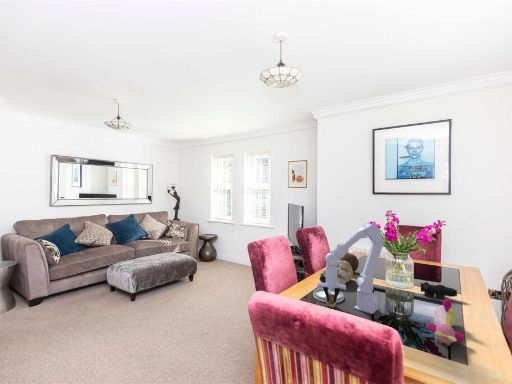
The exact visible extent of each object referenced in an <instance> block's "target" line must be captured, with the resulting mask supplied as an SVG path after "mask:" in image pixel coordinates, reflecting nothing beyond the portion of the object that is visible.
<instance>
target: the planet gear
mask: <svg viewBox="0 0 512 384" xmlns="http://www.w3.org/2000/svg"><path fill="white" fill-rule="evenodd" d="M328 299H329V302H327V303H326V307H328V306H329V307H330V308H331V307H332V309H334V308H335V307H336V308H337V303H334V294H328ZM329 307H328V308H329ZM333 307H334V308H333Z"/></svg>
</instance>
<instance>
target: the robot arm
mask: <svg viewBox="0 0 512 384" xmlns="http://www.w3.org/2000/svg"><path fill="white" fill-rule="evenodd" d="M361 239H369V240H370V242H371V246H370V249H369V252H368V254H367V258H366V261H365V265H364V268H363V270H362V272H361V273H360V275H359V276H358V277H357V279H356V284H357V286H358V287H357V289H356V305H355V306H354V307H353V308H354V309H355V310H358V311H362V312H365V313H368V314H372V315H374V314H375V313H376V311H377V310H378V309H379V307H378V294H376V293H375V292H373V290H374V285H373V284H374V273H375V271H376V268H377V265H378V262H379V259H380V255H381V252H382V251H383V250H382V249H383V246H384V243H385V242H384V238H383V235H382V231H381V230H380V228H379V227H378V226H377V225H374V224H372V223H371V222H366V223H364V224H363V225H362V226H360V227H359V228H358V229H357V230H356V231H355V232H354V233H353V234H352V235H351V236H350V237H349V238H348V239H347V240H345V242H343V243H342V242H341V243H337V244H336V247H335V248H333V249H332V250H330V251H329V252H328V253H326V255H325V257H324V258H325V261H326V264H325V270H326V283H321V282H316V283H317V285H316V286H317V288H316V289H318V288H323V289H324V292H325V294H326V298H327V302H329V299H328V288H332V289H334V303H336V299H337V296H338V294H339V292H341V290H344V291H347V286H346V285H347V284H345V285H342V284H337V263H338V260H340V259H341V258H342V257H343V256H344V255H345V254H347V253H348V252H349V249H350V248H351V247H352V246H353V245H354V244H356V243H357V242H359V240H361ZM349 253H350V252H349ZM336 304H337V303H336Z"/></svg>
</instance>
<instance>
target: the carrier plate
mask: <svg viewBox="0 0 512 384" xmlns="http://www.w3.org/2000/svg"><path fill="white" fill-rule="evenodd" d="M328 294H334V288H328ZM312 296H313V298H314V299H315V300H316V301H319V302H322V303H326V304H327V298H326V294H325V292H324V289H323V288H322V287H320V288H316V289H314V290H313V295H312ZM343 301H344V293H343V292H342V291H340V292H339V294H338V296H337V299H336V304H338V303H341V302H343Z"/></svg>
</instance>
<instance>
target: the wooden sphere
mask: <svg viewBox="0 0 512 384" xmlns="http://www.w3.org/2000/svg"><path fill="white" fill-rule="evenodd" d="M338 261H339V260H338ZM340 261H347V262H348V263H349V264H350V265H351V267H352V270H353V273H355V272H356V271H357V270H358V269H359V266H360V265H359V264H360V263H359V259H358V257H357V256H356V255H355V254H354V253H352V252H348V253H347V254H345V255H344V256H343V257H342V258H341V259H340Z"/></svg>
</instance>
